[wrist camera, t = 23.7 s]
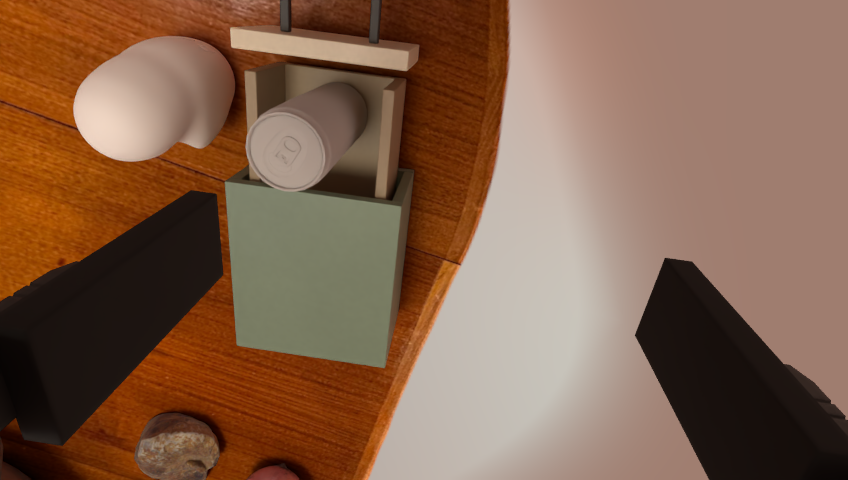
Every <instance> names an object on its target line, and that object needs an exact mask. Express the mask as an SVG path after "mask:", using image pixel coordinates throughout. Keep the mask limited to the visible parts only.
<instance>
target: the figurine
mask: <svg viewBox="0 0 848 480" xmlns="http://www.w3.org/2000/svg"><path fill="white" fill-rule="evenodd" d="M234 93H235V79H234V74H233V71H232V69H231V67H230V65H229V63H228V61H227V60H226V58H225V57H224V56H223V55H222V54H221V53H220V52H219V51H218V50H217V49H216V48H214V47H213V46H211V45H209V44H207V43H205V42H203V41H200V40H197V39H193V38H188V37H181V36H164V37H156V38H152V39H148V40H145V41H142V42H139V43H137V44H135V45H133V46H131V47H129V48H128V49H126V50H125V51H123V52H122V53H120V54H119V55H117V56H116V57H114V58H112V59H110V60H108V61H106V62H105V63H103V64H102V65H100V66H99V67H98V68H97V69H95V70H94V71H93V72H92V73H91V74H90V75H89V76H88V77H87V78H86V79H85V80H84V81H83V82H82V84H81V85H80V87H79V89H78V91H77V94H76V97H75V101H74V108H73V110H74V118H75V122H76V125H77V127H78V129H79V131H80V133H81V134H82V136H83V137H84V139H85V140H86V141H87V142H88V143H89V144H90V145H91V146H92V147H93V148H94V149H96V150H97V151H99V152H100V153H102V154H104V155H106V156H108V157H110V158H113V159H116V160H121V161H142V160H147V159H151V158H154V157H157V156H159V155H161V154H163V153H164V152H166V151H167V150H168V149H170V148H171V147H172V146H173V145H174V144H175V143H176V142H182V143H186V144H188V145H190V146H193V147H195V148H204V147H206V146H207V145H209V144H210V143H211V142H212V141H213V140H214V138H215V137H216V136H217V135H218V133H219V132H220V130H221V129H222V127H223V125H224V123H225V121H226V118H227V116H228V113H229V109H230V106H231V103H232V100H233V97H234Z"/></svg>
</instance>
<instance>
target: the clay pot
mask: <svg viewBox="0 0 848 480" xmlns="http://www.w3.org/2000/svg"><path fill="white" fill-rule="evenodd" d="M1 480H31V479H30V478H29V477H28V476H26V475H25V474H23V473H22V472H21V471H19V470H18V469H16V468H15V467H13V466H11V465H9V464H7V463H5V462H3V461H2V472H1Z"/></svg>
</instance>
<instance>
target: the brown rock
mask: <svg viewBox="0 0 848 480" xmlns="http://www.w3.org/2000/svg"><path fill="white" fill-rule="evenodd" d="M219 456H220V451H219V443H218V440H217V437H216V435H215V434H214V433H213V432H212V430H211V429H210V427H209V426H208V425H207V424H205V423H204V422H202V421H199V420H197V419H194V418H193V417H191V416H186V415H183V414H180V413H165V414H161V415H158V416H156V417H154V418H153V419H151V420H150V421H149V422H148V423H147V425H146V426H145V429H144V430H143V432H142V434H141V437H140V440H139V442H138V444H137V447H136V452H135V457H134V459H135V461H136V462H137V464H138V466H139V468H140V469H141V471H142V472H143V473H145V474H147V475H148V476H150V477H151V478H155V479H161V480H205V479H206V477H207V470H208V469H210V468H212V467H214V466H215V465H216V464H217V462H218V459H219Z"/></svg>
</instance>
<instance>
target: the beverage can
mask: <svg viewBox="0 0 848 480" xmlns="http://www.w3.org/2000/svg"><path fill="white" fill-rule="evenodd" d="M366 121H367V109H366V104H365V102H364V100H363V98H362V96H361V95H360V94H359V93H358V92H357V91H356V90H355V89H354V88H352V87H351V86H349V85H347V84H344V83H340V82H331V83H328V84H324V85H322V86H320V87H318V88H316V89H313V90H311V91H308V92H306V93H303V94H301V95H299V96H297V97H294V98H292V99H290V100H288V101H286V102H284V103H282V104H280V105H278V106H276V107H273V108H271V109H270V110H268V111H266V112H265V113H263V114H262V115H260V117H259V118H258V119H257V120H256V121H255V122H254V124H253V125H252V126H251V127H250V130H249V132H248V135H247V139H246V152H247V158H248V160H249V163H250V165H251V167H252V169H253V170H254V171H255V173H256V174H257V176H258V177H260V178H261V179H262V180H263V181H264V182H265V183H266V184H268V185H270V186H272V187H274V188H276V189H279V190H282V191H290V192H296V191H301V190H305V189H307V188H309V187H311V186H313V185H315V184H317V183H318V182H319V181H320V180H321V179H322V178H323V177H324V176H325V175H326V174H327V173H328V172H329V171H330V170H331V169H332V167H333V166H334V165H335V164H336V163H337V162H338V161H339V160H340V158H341V157H342V156H343V155H344V154H345V153H346V151H347V150H348V149H349V148H350V147H351V146H352V145H353V144H354V142H355V141H356V140H357V139H358V138H359V137H360V136H361V135H362V133H363V131H364V129H365V127H366Z"/></svg>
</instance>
